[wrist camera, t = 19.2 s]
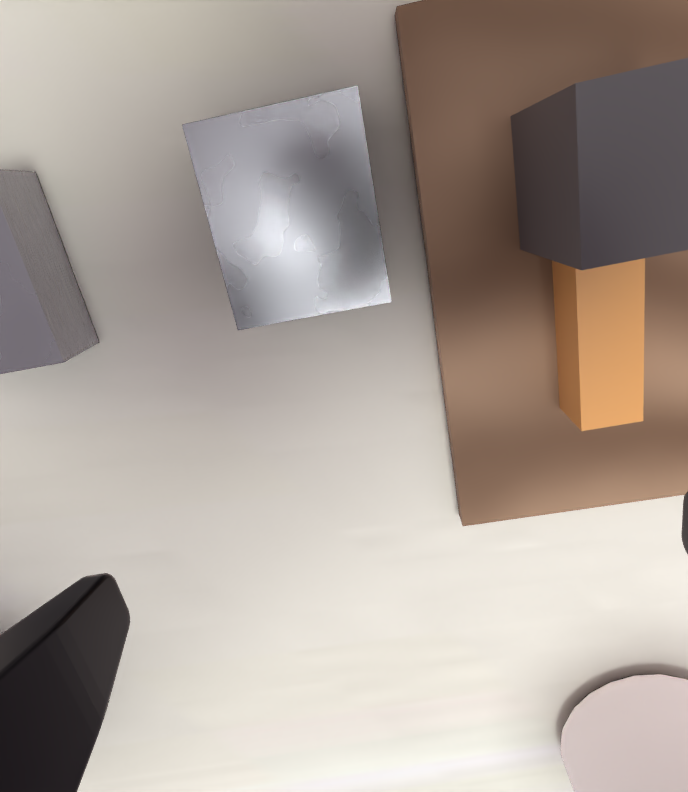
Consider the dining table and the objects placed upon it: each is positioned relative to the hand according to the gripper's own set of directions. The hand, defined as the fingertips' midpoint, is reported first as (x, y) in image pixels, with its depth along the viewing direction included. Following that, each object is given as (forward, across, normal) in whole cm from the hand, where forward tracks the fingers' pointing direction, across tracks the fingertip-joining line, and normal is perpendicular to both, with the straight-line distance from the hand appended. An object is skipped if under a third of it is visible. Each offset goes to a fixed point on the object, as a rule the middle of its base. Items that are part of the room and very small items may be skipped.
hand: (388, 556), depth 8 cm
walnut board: (+12, -8, -1) cm, 14 cm away
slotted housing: (+12, +7, -5) cm, 15 cm away
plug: (+11, -8, -2) cm, 14 cm away
